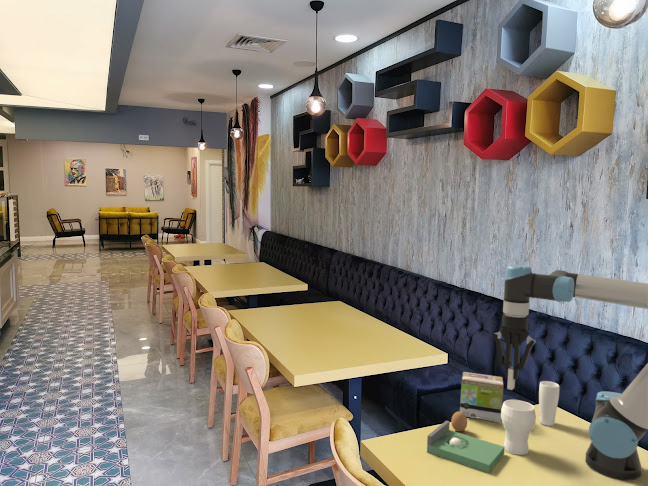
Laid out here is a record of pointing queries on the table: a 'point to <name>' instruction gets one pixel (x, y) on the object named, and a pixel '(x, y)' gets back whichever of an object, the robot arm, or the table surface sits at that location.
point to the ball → (455, 442)
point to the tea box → (481, 396)
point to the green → (464, 449)
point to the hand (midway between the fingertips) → (510, 388)
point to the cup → (517, 425)
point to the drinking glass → (548, 402)
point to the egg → (459, 421)
